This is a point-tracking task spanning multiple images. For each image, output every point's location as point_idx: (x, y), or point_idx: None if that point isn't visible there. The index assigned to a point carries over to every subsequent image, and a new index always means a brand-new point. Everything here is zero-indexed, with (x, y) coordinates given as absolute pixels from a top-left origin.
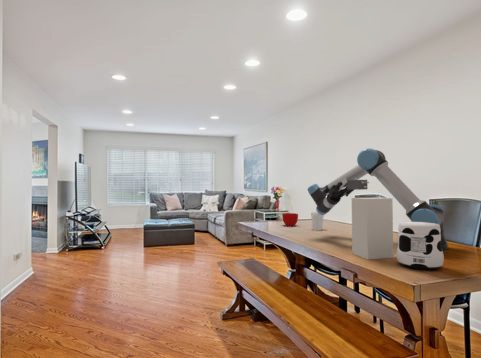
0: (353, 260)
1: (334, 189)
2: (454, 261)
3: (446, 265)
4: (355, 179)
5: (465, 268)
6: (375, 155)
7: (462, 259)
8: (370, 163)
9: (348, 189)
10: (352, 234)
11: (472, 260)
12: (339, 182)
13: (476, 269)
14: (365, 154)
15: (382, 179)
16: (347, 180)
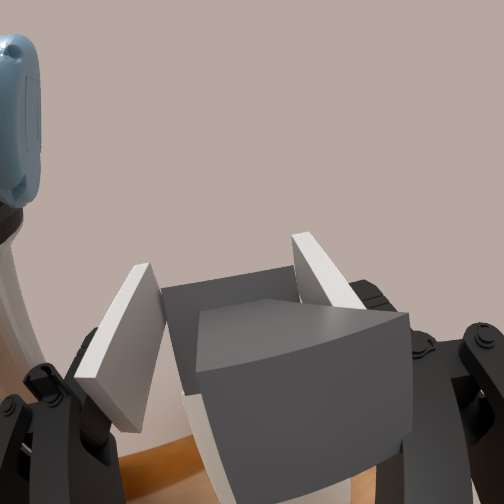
0: (374, 477)
1: (467, 405)
2: (155, 464)
3: (198, 454)
4: (151, 283)
5: (190, 442)
6: (40, 137)
7: (127, 466)
8: (34, 168)
9: (119, 500)
10: (349, 497)
11: (122, 459)
12: (355, 309)
13: (181, 438)
14: (34, 84)
15: (14, 310)
16: (293, 270)
